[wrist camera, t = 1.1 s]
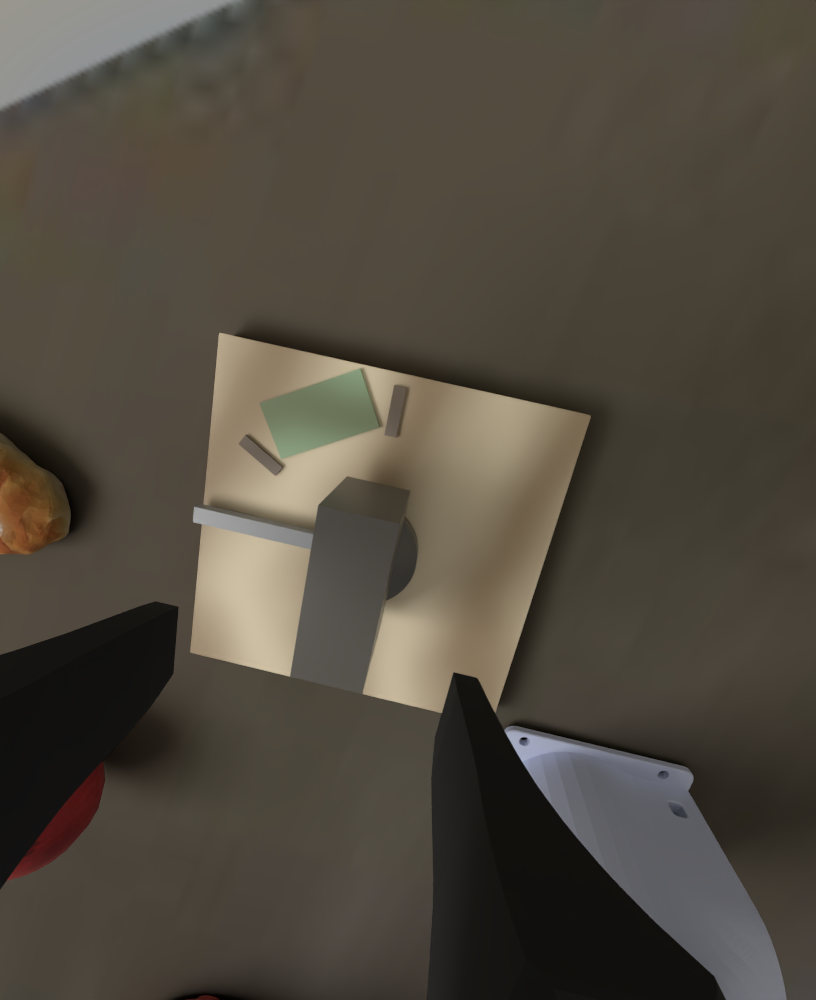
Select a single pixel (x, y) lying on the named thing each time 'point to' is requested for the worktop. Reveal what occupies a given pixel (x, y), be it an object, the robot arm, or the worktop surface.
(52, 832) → the onion
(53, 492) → the pastry
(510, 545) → the board
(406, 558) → the dark angled piece
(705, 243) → the worktop surface
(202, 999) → the citrus juicer
